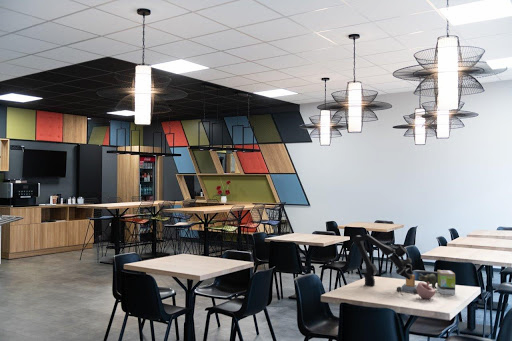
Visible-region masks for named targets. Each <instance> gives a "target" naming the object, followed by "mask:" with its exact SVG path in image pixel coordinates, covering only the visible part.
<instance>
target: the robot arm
mask: <svg viewBox="0 0 512 341" xmlns="http://www.w3.org/2000/svg"><path fill="white" fill-rule="evenodd" d="M351 241H352V242H353V243H354V245H355V246H356V247H357V248H358V251H359V253H360V256H361V257H362V260H363V262H364V265H365V271H366V272H365V273H364V274H363V277H364V286H367V287H368V286H369V287H373V286H375V285H376V283H375V282H376V281H375V275H376V274H377V273H378V268H377V266H376V264H373V262H371V259H370V256H369V255H368V252H367V251H366V250H367V249H366V248H365V245H364V241H368V242H369V243H370V244H372V245H374V246H375V247H376V248H377V249H379V250H380V251H381V253H383V255H385V256H387V261H391V262H392V263H393V264H394V267H396V268H397V269H396V270H395V273H396V274H397V275H399V276H401V277H403V278H405V279H406V278H407V279H409V280H410V279H411V278H410V277H409V275H408V274H414V272H413V270H412V269H413V265H412V263H413V260H412V258H410V257H406V259H405V260H403V259H401V258H403V257H404V256H405V255H406V254H407V253H408V251H407V249H406V247H404V246H402V245H398V247H397V248H396V249H394V248H392V247H391V246H389V245H387V244H383V243H382V242H380V241H379V240H377V239H376V238H375V237H373V236H371V234H364V235H360V234H359V235H354V236H353V237H352V240H351Z"/></svg>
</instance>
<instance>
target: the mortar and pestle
mask: <svg viewBox="0 0 512 341" xmlns="http://www.w3.org/2000/svg"><path fill="white" fill-rule="evenodd" d="M416 285H417V293H416V294H417V295H418V296H419V297H421V299H425V300H428V299H429V300H430V299H431V298H433V297H434V296H435V294H436V290H435V289H433V288H432V285H431V284H430V283H429V282H427V283H426V282H424V281H423V282H422V281H420V282H418V283H417V284H416Z"/></svg>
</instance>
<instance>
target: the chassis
mask: <svg viewBox="0 0 512 341" xmlns="http://www.w3.org/2000/svg"><path fill="white" fill-rule="evenodd" d="M417 285H418V284H415V287H410V286H406V283H404V284H402V285H401V286H396V291H397V292H405V293H412V294H418V293H417Z"/></svg>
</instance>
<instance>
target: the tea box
mask: <svg viewBox="0 0 512 341" xmlns="http://www.w3.org/2000/svg"><path fill="white" fill-rule="evenodd" d="M436 272H437V273H436V280H437V281H436V291H438V293H440V294H441V295H449V296H450V295H453V296H454V295H456V273H455V272H453V271H452V270H445V269H443V270H441V269H437V271H436Z"/></svg>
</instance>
